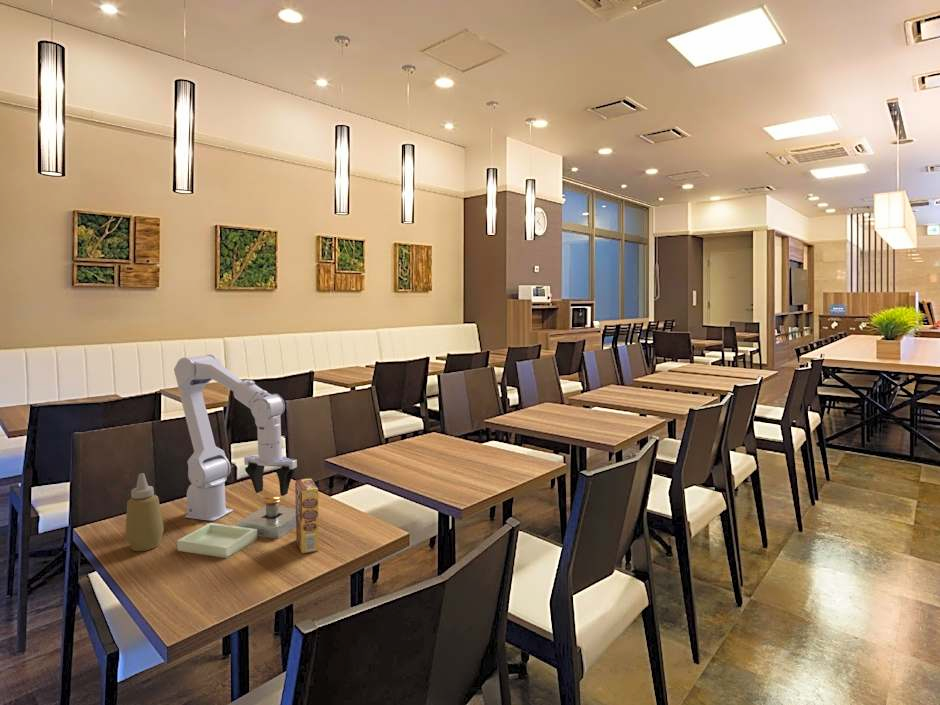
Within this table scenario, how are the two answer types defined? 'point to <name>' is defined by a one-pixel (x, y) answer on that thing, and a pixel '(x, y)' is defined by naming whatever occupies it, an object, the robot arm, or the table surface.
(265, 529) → the block
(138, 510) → the squeeze bottle
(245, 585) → the table surface
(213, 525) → the tray
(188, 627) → the table surface
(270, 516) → the copper-topped gray cylinder
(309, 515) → the candy box
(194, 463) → the robot arm
